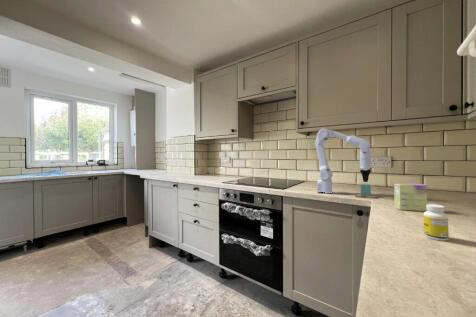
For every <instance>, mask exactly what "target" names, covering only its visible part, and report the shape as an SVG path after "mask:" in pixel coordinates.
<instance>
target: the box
mask: <svg viewBox="0 0 476 317" xmlns="http://www.w3.org/2000/svg"><path fill="white" fill-rule="evenodd" d="M393 187H394V188H393V190H394V191H393V192H394V193H393V196H394V199H393V200H394V208H396V209H397V210H399V211H416V212H426V211H427V209H426V205H427V204H428V200H427V198H428V197H427V190H428V189H427V184H424V183H423V184H422V183H396V182H395V183H394V186H393Z"/></svg>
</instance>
